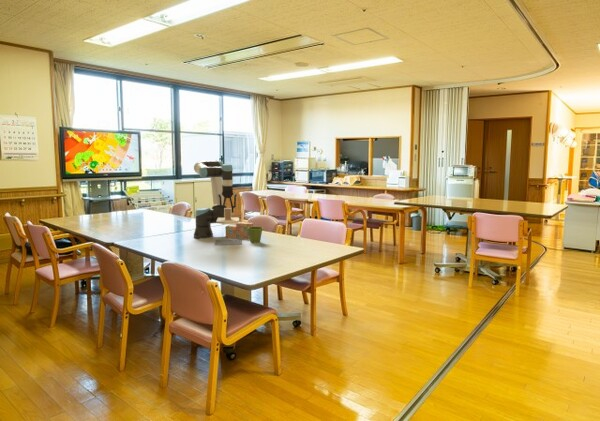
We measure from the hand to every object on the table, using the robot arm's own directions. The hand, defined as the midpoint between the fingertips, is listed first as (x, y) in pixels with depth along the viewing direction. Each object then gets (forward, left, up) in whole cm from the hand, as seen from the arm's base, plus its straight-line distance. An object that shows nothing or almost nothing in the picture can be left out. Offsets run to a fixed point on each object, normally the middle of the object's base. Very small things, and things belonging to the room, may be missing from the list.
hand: (228, 217), depth 303 cm
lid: (0, 0, -3) cm, 3 cm away
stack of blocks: (-20, +8, -20) cm, 30 cm away
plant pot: (0, +20, -20) cm, 28 cm away
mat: (0, 0, -20) cm, 20 cm away
